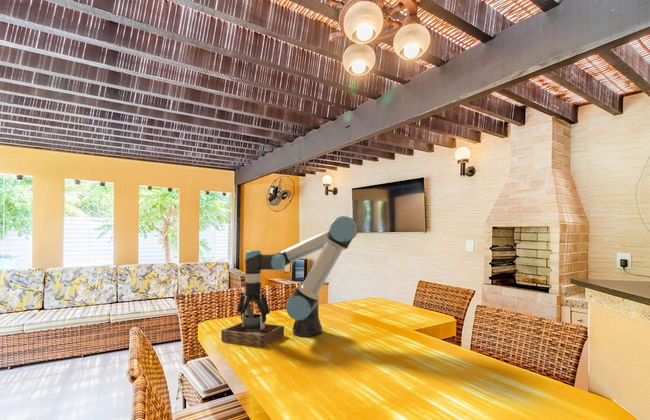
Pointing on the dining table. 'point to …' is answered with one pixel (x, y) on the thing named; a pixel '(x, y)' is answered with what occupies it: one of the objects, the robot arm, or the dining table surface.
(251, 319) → the mortar and pestle
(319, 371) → the dining table surface
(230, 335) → the crate
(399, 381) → the dining table surface
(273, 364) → the dining table surface
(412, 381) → the dining table surface
